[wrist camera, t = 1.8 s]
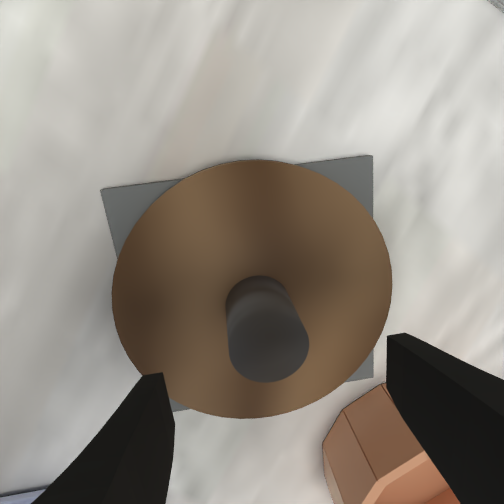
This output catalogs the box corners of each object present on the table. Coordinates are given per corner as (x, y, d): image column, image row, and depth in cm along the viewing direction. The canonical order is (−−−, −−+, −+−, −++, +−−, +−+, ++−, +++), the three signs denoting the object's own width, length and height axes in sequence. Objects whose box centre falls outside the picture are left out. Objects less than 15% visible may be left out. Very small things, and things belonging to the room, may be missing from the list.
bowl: (327, 516, 23) (353, 602, 19) (319, 394, 20) (348, 464, 16) (468, 488, 24) (525, 564, 19) (483, 366, 20) (554, 425, 16)
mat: (158, 407, 19) (156, 414, 18) (103, 188, 15) (100, 190, 15) (369, 371, 20) (373, 377, 19) (367, 155, 16) (372, 155, 15)
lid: (149, 423, 19) (130, 507, 14) (85, 179, 14) (31, 195, 10) (381, 383, 19) (429, 451, 15) (383, 142, 15) (449, 143, 11)
